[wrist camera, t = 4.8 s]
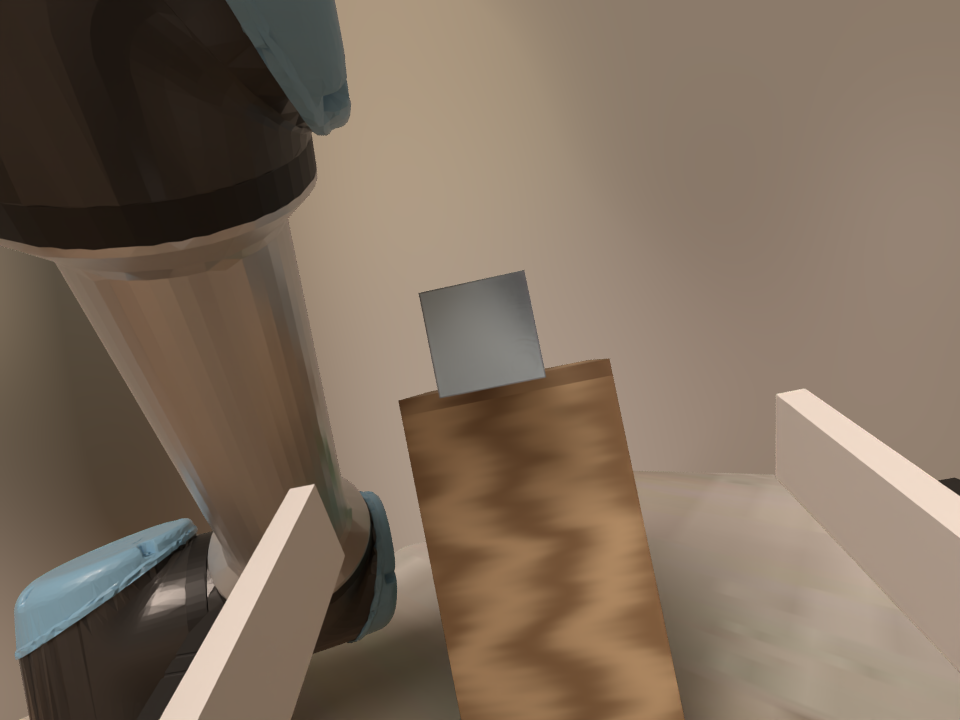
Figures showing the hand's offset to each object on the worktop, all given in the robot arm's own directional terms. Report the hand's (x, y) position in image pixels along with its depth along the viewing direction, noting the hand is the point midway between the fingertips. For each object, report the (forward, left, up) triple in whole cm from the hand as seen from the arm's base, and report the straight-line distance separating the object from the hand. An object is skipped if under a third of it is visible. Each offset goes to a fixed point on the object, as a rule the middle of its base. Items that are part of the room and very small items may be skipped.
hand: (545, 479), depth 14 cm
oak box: (-1, +21, -27) cm, 34 cm away
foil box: (-1, +19, +3) cm, 19 cm away
